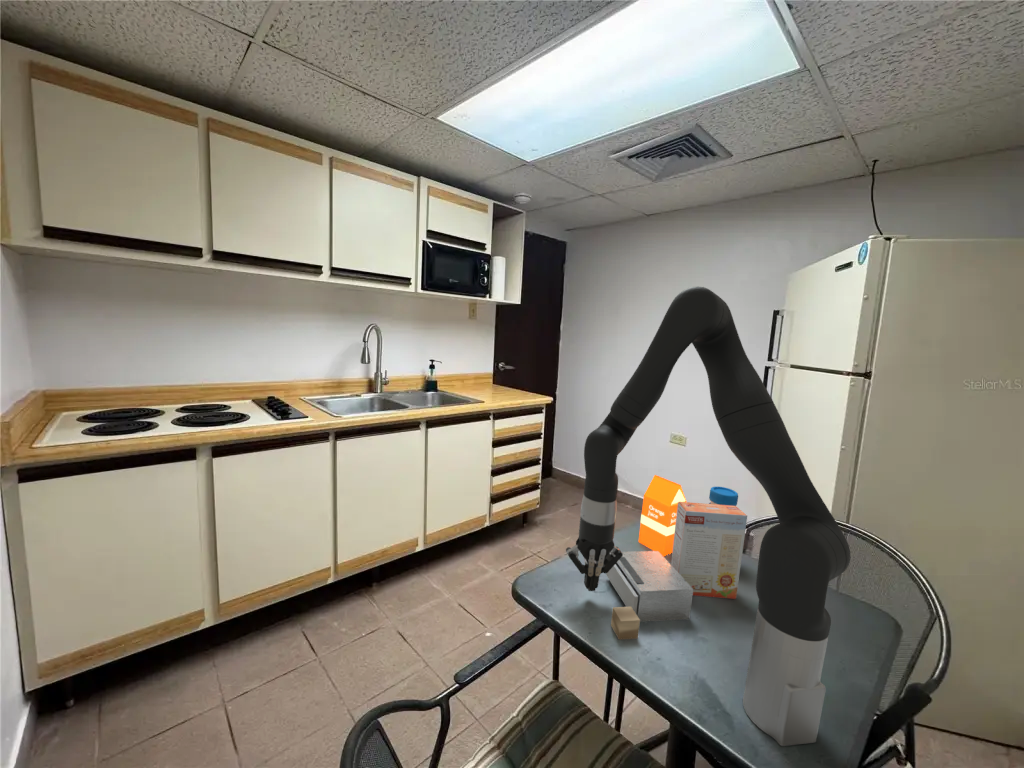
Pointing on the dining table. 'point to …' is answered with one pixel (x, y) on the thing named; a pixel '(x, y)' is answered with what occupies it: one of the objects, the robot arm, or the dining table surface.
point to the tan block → (625, 623)
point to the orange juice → (660, 515)
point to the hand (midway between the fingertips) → (590, 588)
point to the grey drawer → (623, 587)
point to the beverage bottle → (723, 496)
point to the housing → (656, 586)
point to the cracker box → (709, 547)
